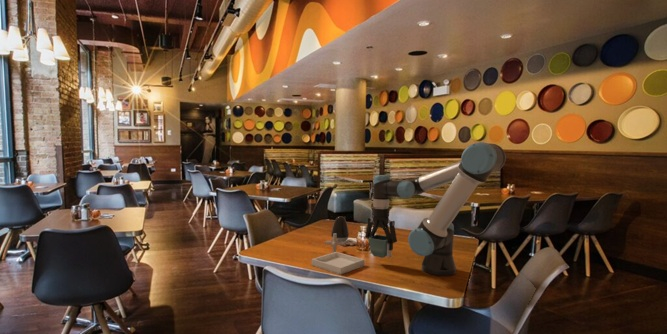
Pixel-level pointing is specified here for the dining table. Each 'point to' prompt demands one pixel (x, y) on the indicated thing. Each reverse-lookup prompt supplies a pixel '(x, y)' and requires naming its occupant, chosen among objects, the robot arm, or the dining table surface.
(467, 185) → the robot arm
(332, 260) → the tray
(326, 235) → the dining table surface
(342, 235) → the egg in egg cup
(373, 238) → the flower pot
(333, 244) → the pipe connector
